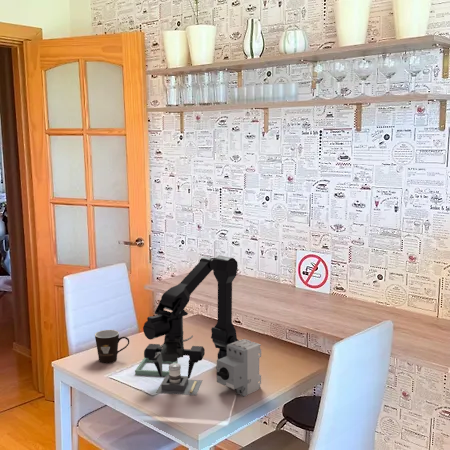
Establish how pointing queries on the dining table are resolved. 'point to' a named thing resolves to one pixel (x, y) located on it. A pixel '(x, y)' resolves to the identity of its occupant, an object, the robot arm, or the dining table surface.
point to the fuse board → (180, 386)
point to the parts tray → (150, 372)
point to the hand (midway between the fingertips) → (175, 377)
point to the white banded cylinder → (174, 373)
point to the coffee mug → (108, 345)
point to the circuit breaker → (240, 367)
